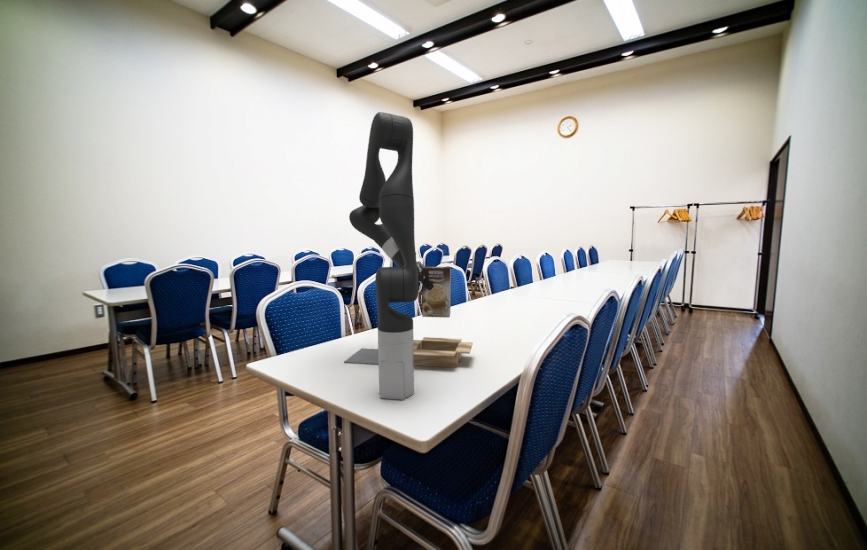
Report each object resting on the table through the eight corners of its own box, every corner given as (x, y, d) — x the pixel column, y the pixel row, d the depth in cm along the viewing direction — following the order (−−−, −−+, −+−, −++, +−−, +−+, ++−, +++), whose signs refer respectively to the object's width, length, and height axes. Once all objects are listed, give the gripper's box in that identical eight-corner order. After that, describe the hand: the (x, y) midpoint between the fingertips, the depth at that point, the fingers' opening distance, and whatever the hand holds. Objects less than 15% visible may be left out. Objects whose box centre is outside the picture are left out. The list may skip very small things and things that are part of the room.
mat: (384, 365, 119) (384, 364, 119) (344, 362, 121) (344, 361, 121) (398, 351, 133) (398, 350, 133) (361, 349, 136) (361, 348, 136)
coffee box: (421, 317, 119) (421, 267, 117) (424, 313, 125) (423, 266, 124) (450, 317, 118) (450, 267, 116) (451, 314, 124) (451, 266, 123)
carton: (468, 372, 111) (468, 356, 111) (397, 368, 116) (397, 352, 115) (473, 353, 130) (473, 339, 130) (412, 350, 134) (412, 336, 134)
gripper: (400, 243, 114) (438, 281, 113) (412, 243, 128) (445, 277, 127) (384, 260, 116) (421, 298, 114) (397, 258, 130) (430, 292, 128)
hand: (433, 287), depth 121 cm, fingers closed on coffee box, 6 cm apart
